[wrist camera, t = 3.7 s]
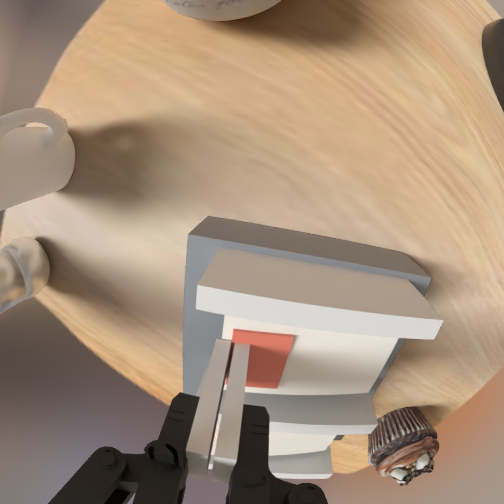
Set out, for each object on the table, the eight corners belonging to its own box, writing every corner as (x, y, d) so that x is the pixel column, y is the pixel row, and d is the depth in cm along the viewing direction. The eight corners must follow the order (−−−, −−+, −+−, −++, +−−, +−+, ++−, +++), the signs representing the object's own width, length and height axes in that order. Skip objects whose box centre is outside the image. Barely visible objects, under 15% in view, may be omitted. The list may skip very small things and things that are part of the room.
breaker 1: (393, 313, 15) (405, 329, 13) (361, 377, 16) (369, 394, 15) (226, 298, 14) (224, 316, 12) (217, 371, 16) (215, 391, 14)
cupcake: (407, 394, 25) (431, 457, 16) (434, 412, 27) (455, 462, 17) (348, 432, 28) (358, 493, 19) (384, 445, 30) (395, 495, 20)
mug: (49, 206, 21) (-43, 243, 10) (29, 153, 19) (-60, 171, 8) (113, 147, 19) (-5, 156, 8) (88, 89, 17) (-17, 72, 6)
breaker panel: (403, 252, 20) (470, 315, 10) (335, 405, 26) (346, 478, 17) (208, 216, 20) (153, 267, 11) (195, 387, 27) (171, 461, 17)
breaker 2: (343, 404, 18) (349, 419, 16) (321, 437, 20) (325, 452, 18) (214, 407, 17) (214, 425, 15) (210, 440, 19) (210, 456, 17)
